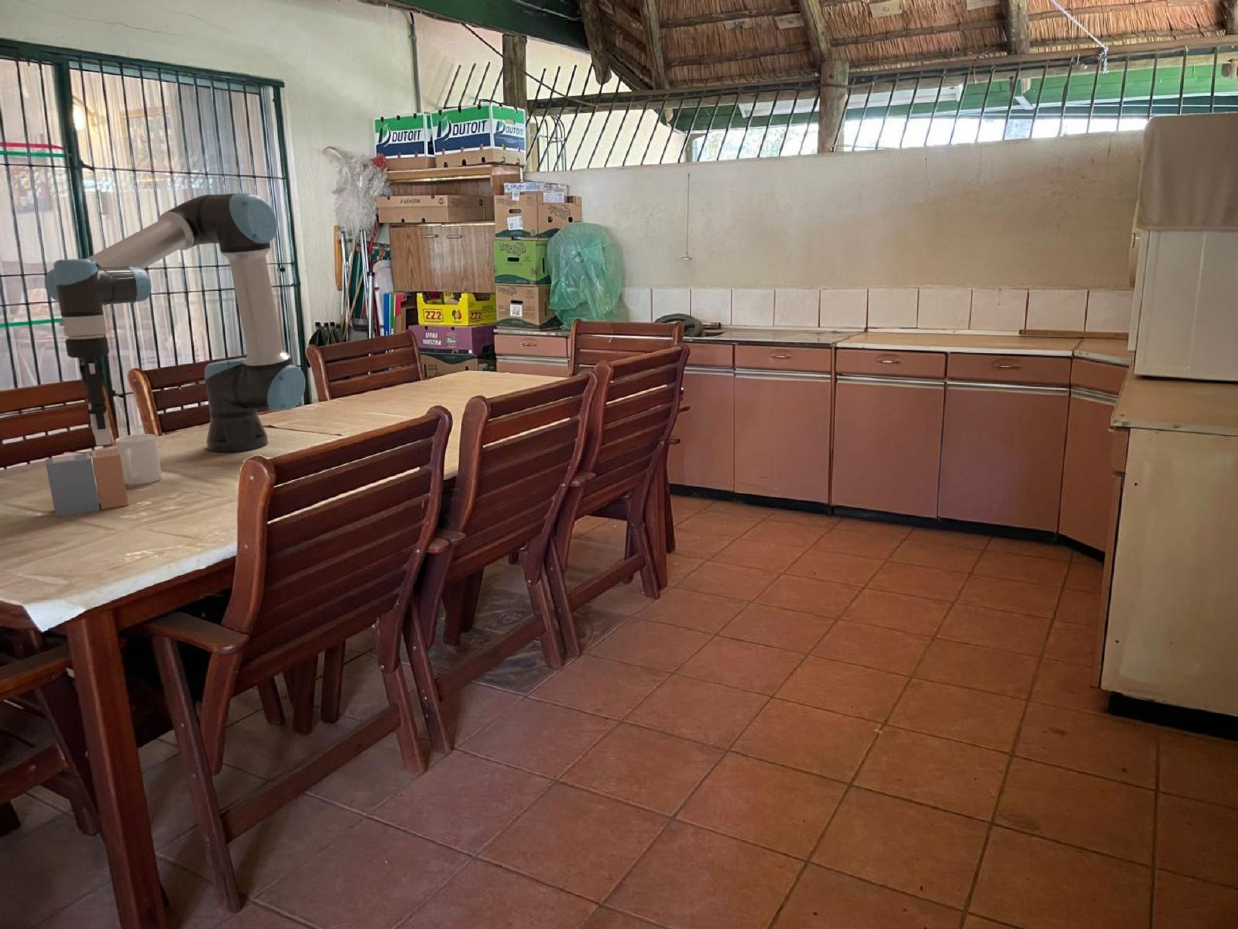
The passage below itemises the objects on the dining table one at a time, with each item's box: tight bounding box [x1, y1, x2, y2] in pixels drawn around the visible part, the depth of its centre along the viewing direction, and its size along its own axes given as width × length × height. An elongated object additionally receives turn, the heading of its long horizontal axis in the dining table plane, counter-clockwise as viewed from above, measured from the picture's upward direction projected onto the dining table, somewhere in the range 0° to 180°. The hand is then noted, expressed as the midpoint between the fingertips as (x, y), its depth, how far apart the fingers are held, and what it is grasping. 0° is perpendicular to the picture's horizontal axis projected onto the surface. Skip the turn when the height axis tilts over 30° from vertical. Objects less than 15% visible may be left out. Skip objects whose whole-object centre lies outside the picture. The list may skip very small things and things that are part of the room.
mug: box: [114, 433, 162, 486], centre depth 212 cm, size 12×8×10 cm
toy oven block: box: [45, 452, 101, 518], centre depth 192 cm, size 8×6×11 cm
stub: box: [91, 448, 129, 510], centre depth 195 cm, size 5×6×11 cm
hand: (102, 438), depth 193 cm, fingers open, 13 cm apart
